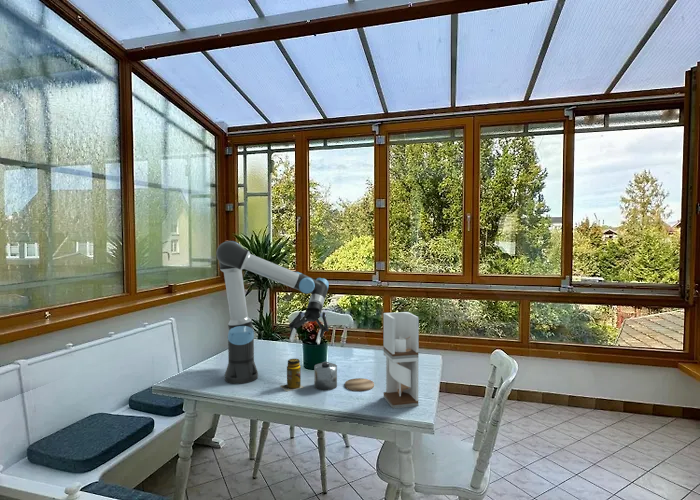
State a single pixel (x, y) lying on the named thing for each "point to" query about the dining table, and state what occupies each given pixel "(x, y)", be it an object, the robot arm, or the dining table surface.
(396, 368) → the display case
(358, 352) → the dining table surface
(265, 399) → the dining table surface
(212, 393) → the dining table surface
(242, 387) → the dining table surface
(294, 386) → the condiment
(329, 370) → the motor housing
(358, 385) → the tan plate
